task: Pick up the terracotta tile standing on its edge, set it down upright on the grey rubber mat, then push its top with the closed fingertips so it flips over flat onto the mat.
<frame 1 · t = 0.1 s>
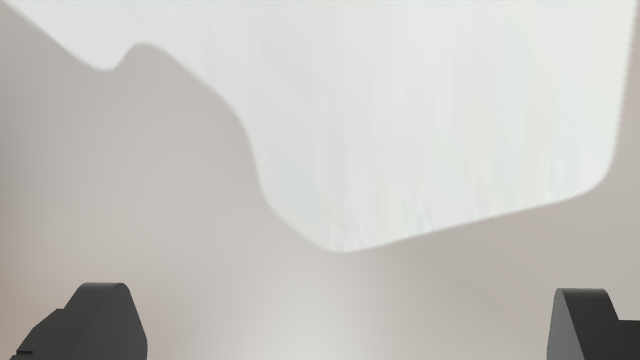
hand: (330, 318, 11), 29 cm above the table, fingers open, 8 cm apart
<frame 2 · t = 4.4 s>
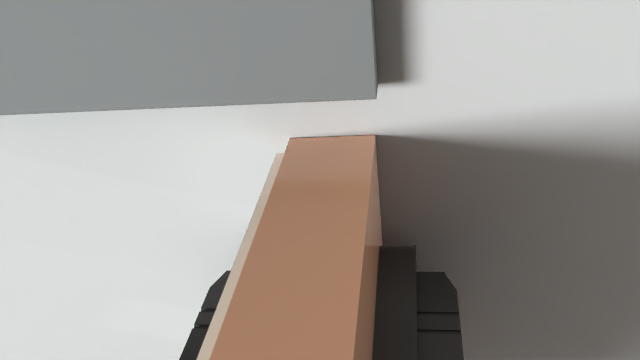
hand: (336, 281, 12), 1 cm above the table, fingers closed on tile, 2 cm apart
tile: (345, 262, 12), on the table, touching gripper
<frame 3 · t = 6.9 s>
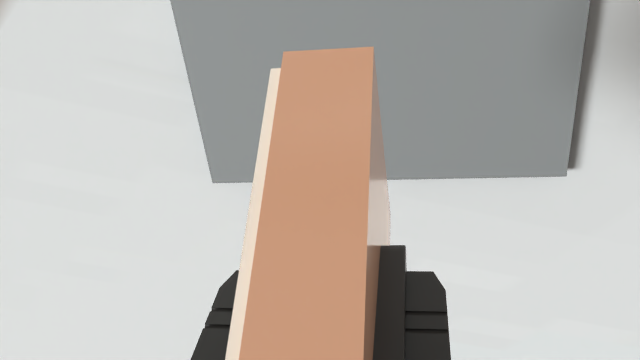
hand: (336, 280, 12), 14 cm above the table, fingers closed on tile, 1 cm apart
tile: (346, 147, 13), point 12 cm above the table, tilted 26°, touching gripper
mat: (374, 47, 24), on the table
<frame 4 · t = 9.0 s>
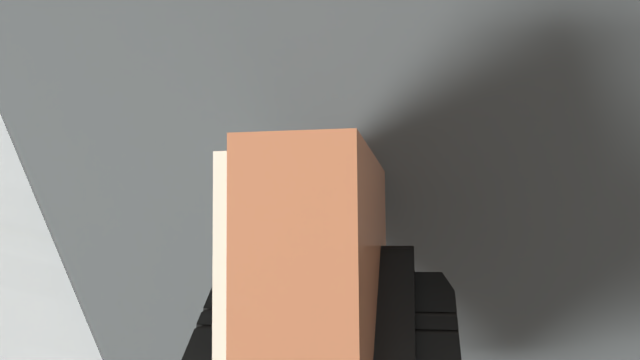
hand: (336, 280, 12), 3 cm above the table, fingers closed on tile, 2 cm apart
tile: (328, 157, 10), point 3 cm above the table, tilted 55°, touching gripper, mat
mat: (357, 207, 14), on the table
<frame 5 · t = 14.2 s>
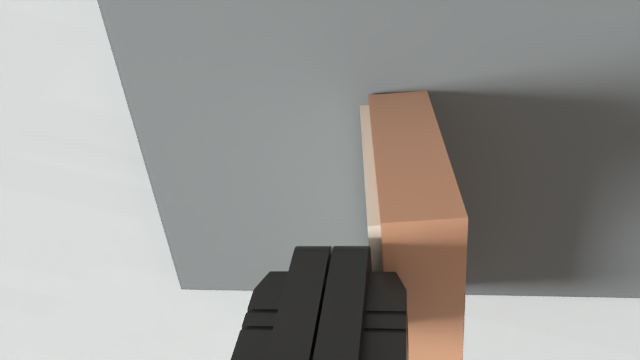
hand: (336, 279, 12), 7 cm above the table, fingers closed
tile: (408, 144, 13), point 4 cm above the table, tilted 90°, touching gripper, mat
mat: (401, 126, 17), on the table
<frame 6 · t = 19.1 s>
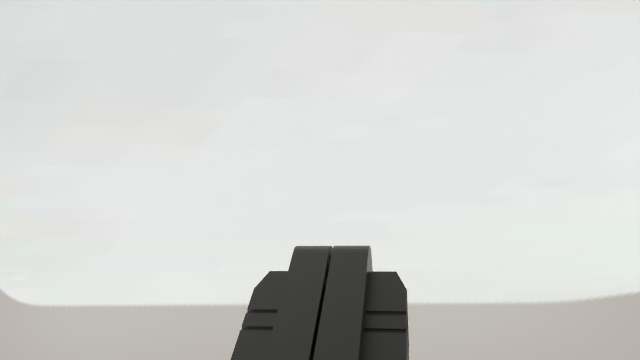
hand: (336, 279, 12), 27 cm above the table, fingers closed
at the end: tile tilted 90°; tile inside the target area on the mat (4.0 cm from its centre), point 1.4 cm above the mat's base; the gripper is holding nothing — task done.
